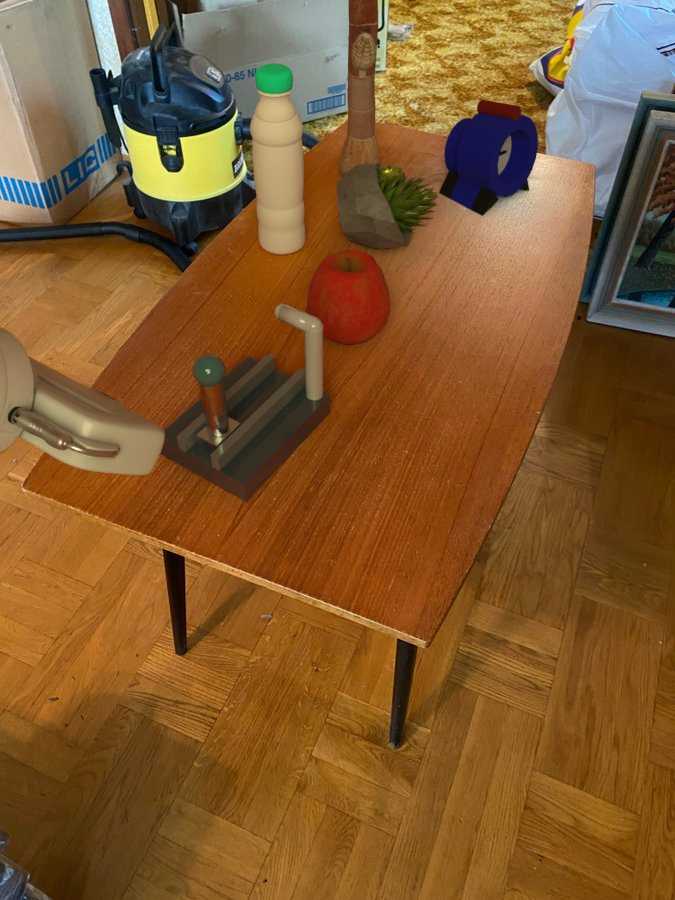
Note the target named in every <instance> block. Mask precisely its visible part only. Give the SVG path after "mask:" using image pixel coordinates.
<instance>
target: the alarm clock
mask: <svg viewBox="0 0 675 900" xmlns="http://www.w3.org/2000/svg"><path fill="white" fill-rule="evenodd" d="M476 111H477V113H476V114H475V115H473V117H472V118H471V117H465V118H462V119H460V120H459V121H457V122H456V124H455V125H454V126H453V127H452V128H451V130H450V131H449V133H448V136H447V138H446V142H445V146H444V154H443V156H444V164H445V167H446V169H447V173H446V176H445V178H444V180H443V183H442V185H441V187H440V189H439V192H438V194H440V195H442V196H444V197H446V198H447V199H450V200H452V202H455V203H457V204H459V205H461V206H463V207H465V208H467V209H468V210H470V211H473V212H475V213H476V214H478V215H480V216H482V217H484V215H485V214H486V213H487V212H488V211H490V209H491V208H492V207H493V206H494V205H495V204H496V203H497V202H499V200H500V198H499V197H502V198H507V197H511V196H513V195H515V194H516V193H517V192H519V191H527V192H528V191H530V186H529V185H530V184H529V180H528V179H529V177H530V175H531V173H532V172H533V169H534V166H535V163H536V160H537V155H538V148H539V133H538V129H537V126H536V124H535V122H534V121H533V119H532V118H531V117H529V116H527V115H524V114H522V107H521V106H520V105H516V104H510V103H506V102H505V103H504V102H498V101H491V100H487V99H480V100H479V101H478V103H477V105H476ZM498 196H499V197H498Z"/></svg>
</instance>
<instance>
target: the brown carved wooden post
mask: <svg viewBox="0 0 675 900" xmlns="http://www.w3.org/2000/svg"><path fill="white" fill-rule="evenodd" d="M378 34H379V0H348V47H347V77H346V80H347V96H346V97H347V131H346V132H347V133H346V136H345V139H344V143H343V144H342V147H341V151H340V156H339V164H338V171H339V174H340V175H341V178H342V177H343V176H344V175H345V174H346V173H347V172H349V171H350V170H351V169H352V168H354V167H355V166H357V165H361V164H364V163H368V164H377V163H379V166H382V161H381V152H380V148H379V147H380V146H379V143H378V140H377V139H378V138H377V136H376V107H377V106H376V94H375V92H376V91H375V77H376V66H377V54H378Z"/></svg>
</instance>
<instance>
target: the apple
mask: <svg viewBox="0 0 675 900" xmlns="http://www.w3.org/2000/svg"><path fill="white" fill-rule="evenodd" d="M314 271H315V272H314V274H313V276H312V277H311V280H310V282H309V285H308V289H307V290H308V291H307V298H306V308H307V312H308V313H307V314H310V315H312V316H314V317H317V318H319V319H320V321H321V322H322V324H323V337H324V338H326V339H328V340H330V341H332V342H334V343H336V344H337V343H338V344H342V345H343V344H344V345H349V346H353V345H357V344H362V343H365V342H368V341H369V340H371V339H372V338H374V337H375V336H377V334H379V332H380V331H381V330H382V329H383V328H384V327H385V326H386V324H387V322H388V319H389V316H390V313H391V312H390V311H391V298H390V291H389V285H388V283H387V280H386V277H385V275H384V272H383V270H382V268H381V267H380V265H379V264H378V262H377V260H376V259H375V257H374V256H372V255H370V254H368V253H367V252H364V251H361V250H360V249H359V250H358V249H345V250H340V251H337V252H334V253H331V254H328V255H326V257H324V259H323V260H322V261H321V262H320V263H319V264H318V266H317V267H316V268H315V270H314Z"/></svg>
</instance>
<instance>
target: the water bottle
mask: <svg viewBox="0 0 675 900" xmlns="http://www.w3.org/2000/svg"><path fill="white" fill-rule="evenodd" d="M293 75H294V74H293V71H292V69H291V68H290V67H289V66H287V65H284V64H280V63H267V64H263V65H260V66H259V67H257V69H256V71H255V75H254V79H255V87H256V90H257V91H256V92H257V93H258V94H259V100H258V102H257V104H256V106H255V111H254V113H253V115H252V118H251V120H250V124H249V132H250V136H251V137H252V143H251V146H252V150H251V151H252V152H251V153H252V170H253V181H254V190H255V197H256V218H257V221H258V223H257V225H258V226H257V236H258V238H257V239H258V244H259V246H260V247H261V248H262V249H263V250H264V251H266V252H268V253H270V254H273V255H278V256H282V255H284V256H285V255H290V254H294V253H296V252H299V250H301V249H302V248H303V247H304V245H305V243H306V225H305V214H306V211H305V209H306V207H305V201H304V191H305V190H304V187H305V165H304V163H305V162H304V148H303V147H304V146H303V138H302V137H303V133H304V125H303V121H302V119H301V116H300V114H299V113H298V111H297V108H296V104H295V103H294V102H293V101H292V99H291V94H292V92H293V86H294V76H293Z"/></svg>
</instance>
